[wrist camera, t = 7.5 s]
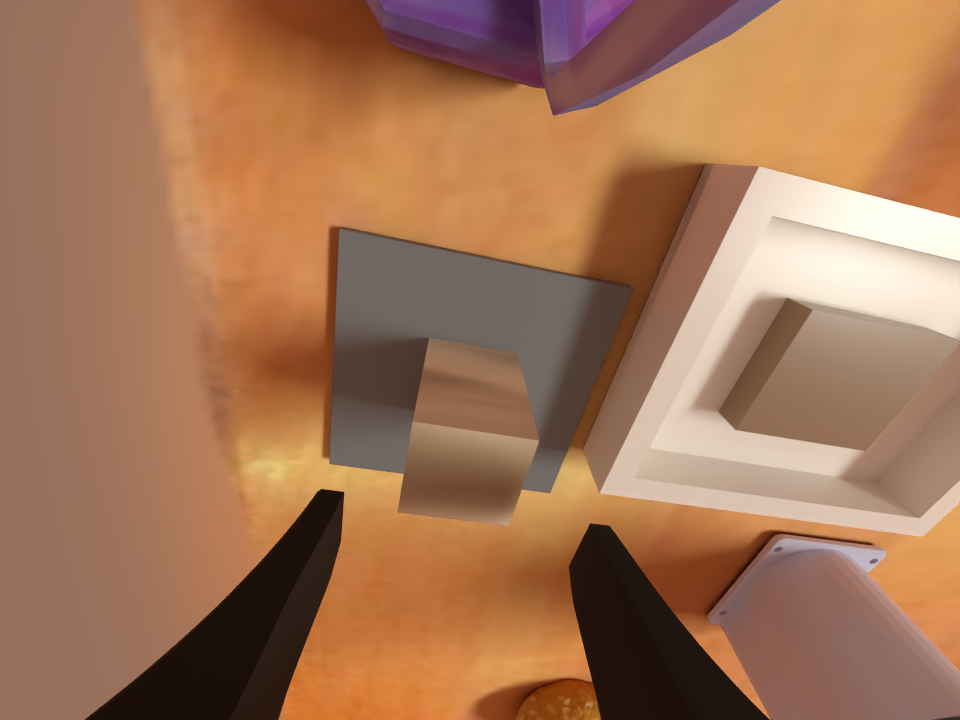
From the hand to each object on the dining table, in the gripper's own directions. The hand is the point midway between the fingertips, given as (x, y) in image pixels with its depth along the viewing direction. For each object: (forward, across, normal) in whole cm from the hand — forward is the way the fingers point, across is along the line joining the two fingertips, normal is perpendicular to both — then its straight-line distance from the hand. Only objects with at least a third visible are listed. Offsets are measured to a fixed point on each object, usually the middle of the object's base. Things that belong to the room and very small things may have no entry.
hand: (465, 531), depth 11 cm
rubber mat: (+8, 0, 0) cm, 8 cm away
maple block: (+8, 0, 0) cm, 8 cm away
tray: (+8, -16, -4) cm, 18 cm away
